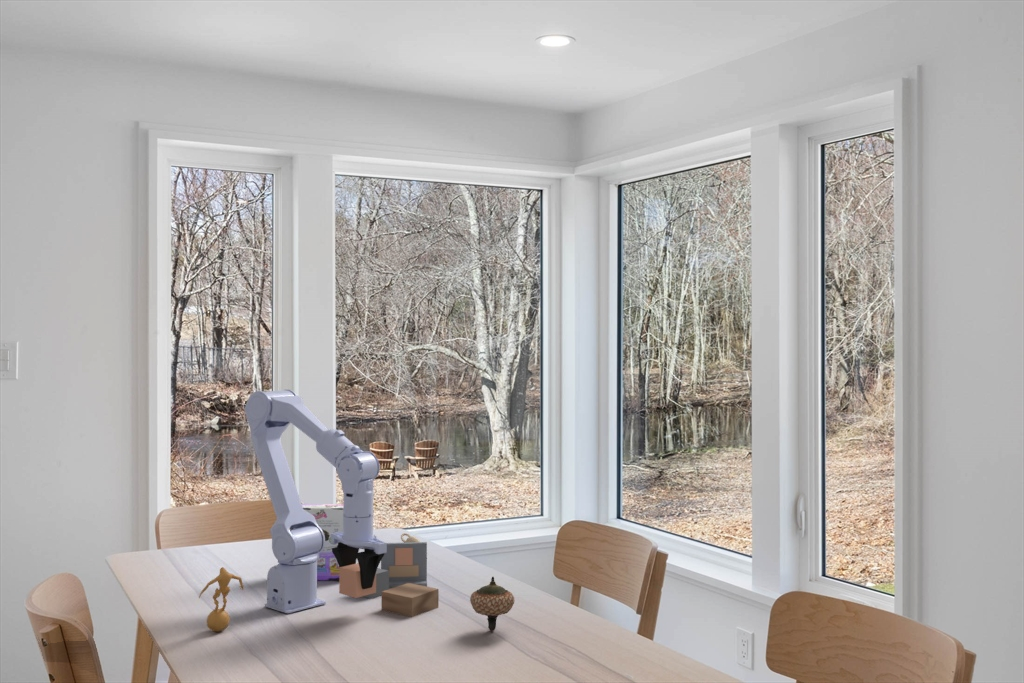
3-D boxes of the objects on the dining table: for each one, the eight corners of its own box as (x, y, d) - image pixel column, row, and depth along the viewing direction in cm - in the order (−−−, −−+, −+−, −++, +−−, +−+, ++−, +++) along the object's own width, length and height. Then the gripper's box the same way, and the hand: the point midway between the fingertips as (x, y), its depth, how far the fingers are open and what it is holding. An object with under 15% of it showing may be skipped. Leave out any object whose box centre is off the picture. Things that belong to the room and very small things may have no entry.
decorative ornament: (412, 561, 218) (412, 539, 219) (398, 554, 226) (398, 533, 226) (427, 559, 221) (427, 537, 221) (413, 553, 228) (413, 531, 228)
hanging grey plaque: (426, 586, 195) (427, 545, 195) (380, 588, 193) (380, 546, 193) (426, 579, 200) (426, 539, 201) (381, 581, 199) (381, 540, 199)
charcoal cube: (370, 599, 185) (370, 575, 185) (355, 595, 188) (355, 571, 188) (388, 594, 189) (388, 570, 189) (373, 590, 192) (373, 567, 192)
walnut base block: (411, 618, 172) (411, 597, 172) (381, 611, 177) (381, 591, 177) (438, 608, 179) (438, 588, 179) (408, 602, 184) (408, 582, 184)
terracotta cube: (355, 597, 170) (356, 571, 170) (339, 593, 173) (339, 567, 173) (376, 592, 173) (376, 566, 173) (359, 588, 177) (359, 562, 177)
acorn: (501, 641, 158) (501, 584, 158) (461, 634, 162) (461, 579, 162) (522, 628, 166) (522, 574, 166) (483, 622, 169) (483, 569, 169)
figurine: (234, 624, 168) (235, 560, 168) (249, 631, 163) (249, 565, 163) (191, 633, 162) (191, 567, 162) (204, 641, 158) (205, 573, 158)
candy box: (357, 575, 205) (357, 503, 205) (349, 581, 199) (350, 507, 199) (299, 573, 206) (299, 502, 206) (290, 580, 200) (290, 506, 201)
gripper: (398, 517, 172) (398, 587, 171) (350, 508, 181) (350, 575, 181) (370, 522, 166) (370, 595, 166) (322, 512, 176) (321, 581, 176)
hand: (357, 585), depth 173 cm, fingers closed on terracotta cube, 5 cm apart
